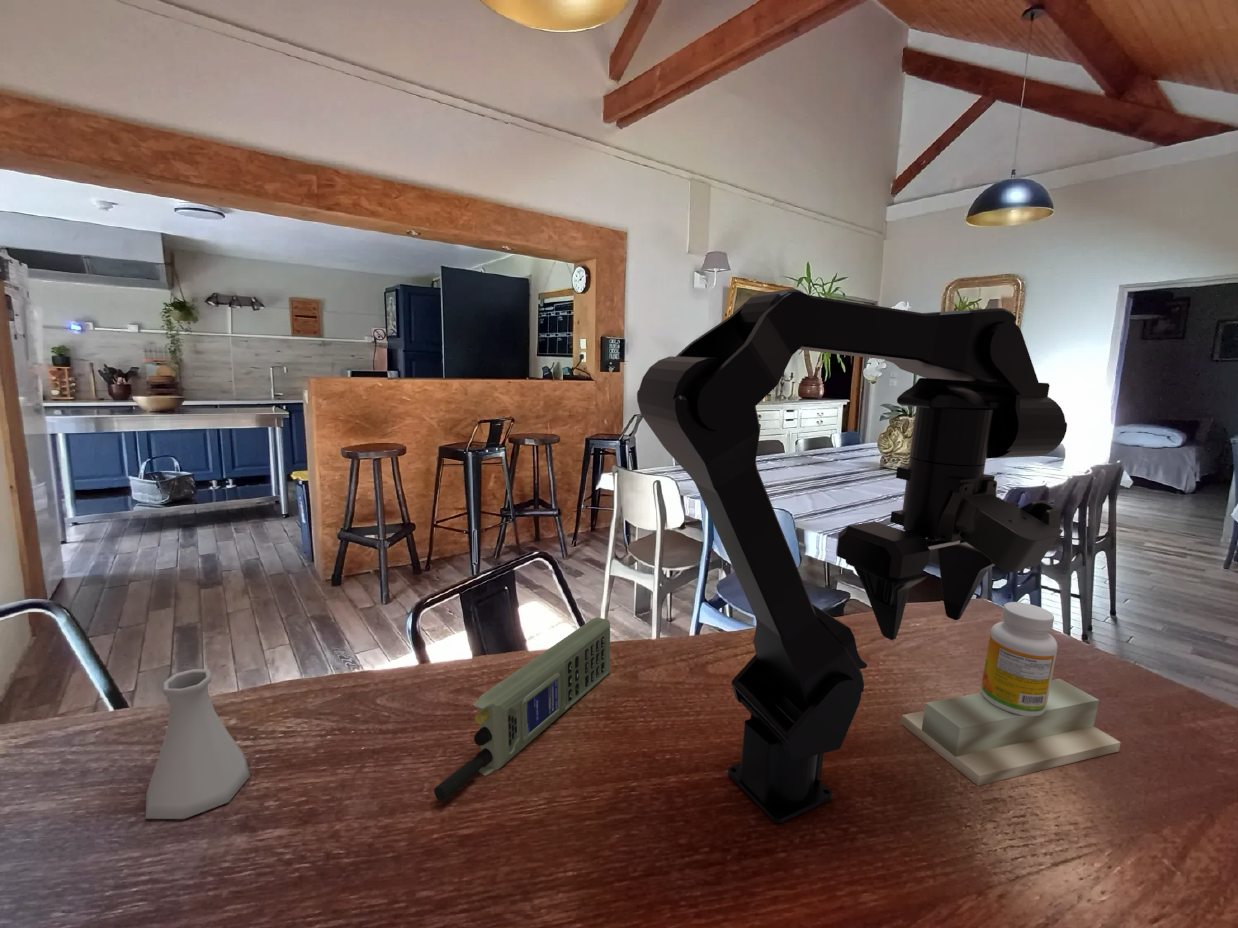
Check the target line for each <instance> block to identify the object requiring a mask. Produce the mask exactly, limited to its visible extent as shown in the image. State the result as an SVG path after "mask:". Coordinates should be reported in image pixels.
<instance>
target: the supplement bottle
mask: <svg viewBox="0 0 1238 928" xmlns="http://www.w3.org/2000/svg"><path fill="white" fill-rule="evenodd" d="M1002 609H1003V610H1002V614H1001V620H1002V621H1000V622H997V623H995V624H994V625H992V627H991V629H990V633H989V639H988V645H987V649H986V650H987V651H986V656H985V662H984V668H983V672H982V673H983V674H982V681H981V685H980V691H981V692H980V693H982V694H983V696H984V697H985V698H986V699H987V700H988V701H989V702H990V703H992V704H993V705H995V706H997V707H999V708H1001V709H1003V710H1005V711H1008V712H1011V713H1014V714H1019V715H1024V716H1038V715H1041V714H1043V713H1044V711H1045V710H1046V705H1047V701H1048V696H1049V690H1050V685H1051V680H1053V674H1054V669H1055V664H1056V659H1057V654H1058V647H1059V646H1058V642H1057V641H1056V640H1057V639H1056V638H1055V637H1054V636H1053V635H1052V634H1050V632H1052V630H1053V628H1054V621H1055V616H1054V613H1052V612H1051V611H1049V610H1047V609H1045V608H1043V607H1040V606H1038V605H1034V604H1031V603H1025V602H1019V601H1010V602H1007V603H1004V605H1003V608H1002Z"/></svg>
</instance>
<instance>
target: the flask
mask: <svg viewBox="0 0 1238 928" xmlns="http://www.w3.org/2000/svg"><path fill="white" fill-rule="evenodd" d="M211 682H212V674H211V669H209V668H207V669H206V668H192V669H189V670H184V671H180V672H177V673H173V675H171V676H170V677H168V678H167V679H166V680H164V681H163V682H162V691H163V693H162V694H163V696H165V697H168V702H169V703H168V705H169V711H168V712H169V713H168V722H167V728H166V731H165V735H164V738H163V741H162V745H161V748H160V752H159V755H158V757H157V761H156V764H155V767H154V770H153V773H152V775H151V779H150V782H149V784H148V788H147V791H146V795H145V819H152V820H153V819H154V820H155V819H158V820H159V819H160V820H161V819H162V820H167V819H168V820H174V819H175V820H185V819H188V818H190V817H193V816H196V815H198V814H200V813H201V814H202V813H204V812H206V811H210V810H212V809H215V808H217V807H219V806H222V805H224V804H227V803H229V802H230V801H231V800H232V799H233V797H235V795H236V794H237V792H238V791H239V790H240V789H241V788H242V786H243V785H244V784H245V783H246V782H247V780H248V779H249V778H251V775H250V769H249V765H248V761H247V760H248V759H247V757H246V755H245V754H244V752H243V750H242V749H241V748H240V746H239V745H238V744H237V743H236V741H235V739H234V738H233V737H232V736H231V734H230V733H229V730H228V729H227V728H226V726H225V725H224V723H223V722H222V720H221V719H220V717H219V715H218V713H217V712H216V710H215V708H214V705H213V702H212V700H211V697H210V694H209V685H210V683H211Z"/></svg>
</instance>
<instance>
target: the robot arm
mask: <svg viewBox="0 0 1238 928" xmlns="http://www.w3.org/2000/svg"><path fill="white" fill-rule="evenodd" d="M1016 321H1017V317H1016V315H1015V314H1014V313H1013V312H1012V311H1011V310H1008V309H1006V308H1003V307H995V308H994V307H992V308H991V307H990V308H979V309H978V308H977V309H976V308H975V309H963V310H962V309H961V310H949V311H947V310H946V311H932V312H917V311H912V310H904V309H899V308H893V307H886V306H880V305H873V304H866V303H861V302H855V301H848V300H841V299H838V298H837V299H835V298H828V297H822V296H816V295H812V294H807V293H806V292H804V291H801V290H800V289H796V288H794V289H793V288H790V289H781V290H774V291H767V292H761V293H756V294H755V295H752V296H751V297H749V298H748V299H747V300H746V301H745V302H744V303H742V304H741V306H739V307H738V308H737V309H736V310H735V311H734V312H733V313H732V314H730V315H729V317H727V318H726V319H724V320H722V321H721V322H720V323H718V324H717V325H715V326H714V327H712V328H711V329H709V330H708V331H706V332H705V333H703V334H702V335H700V336H698V337H697V338H696V339H694V340H693V341H691V342H690V343H689V344H688V345H686V346H685V348H683V349H682V350H681V351H680V352H679V353H678V354H677V355H675V356H672V355H671V356H667V357H664V358H661V359H659V360H657V361H656V362H655V363H653V364H652V365H651V366H650V367H648V369H647V370H646V373H645V374H644V375H643V376H642V378H641V381H640V386H639V389H638V390H637V392H636V401H637V406H638V409H639V412H640V415H641V416H642V419H644V421H645V422H646V423H647V425H648V427H649V428H650V430H651V431H652V433H653V434H654V435H655V437H656V438H657V439H658V441H659V442H660V444H661V445H662V447H663V448H664V449H665V450H666V451H667V452H668V453H669V455H671V457H672V458H673V459H674V460H675V461H676V463H678V465H679V466H680V467H681V468H682V469H683V470H684V471H685V472H686V474H687V475H689V477H690V478H691V479H692V481H693V483H694V484H695V486H696V488H697V490H698V492H699V493H698V494H699V495H700V497H701V500H702V502H703V504H704V506H705V509H706V511H707V512H708V516H709V517H710V519H711V520H710V521H711V523H712V524H713V526H714V528H715V531H716V533H717V535H718V537H719V539H720V542H721V544H722V546H723V548H724V551H725V553H726V555H727V557H728V560H729V562H730V564H731V566H732V568H733V571H734V572H735V575H736V577H737V580H738V581H739V584H740V587H741V589H742V591H743V593H744V595H745V598H746V600H747V602H748V603H749V606H750V608H751V611H752V612H753V615H754V618H755V621H756V626H755V631H754V634H753V647H754V650H755V654H754V655H753V657H752V658H751V659H750V660H749V661H748V662H747V663H746V664H745V665H744V667H743V668H742V669H741V670H740V671H739V672H738V673H737V674H736V676H734V677H733V679H732V680H731V687H732V690H733V694H734V697H735V700H736V701H738V702H739V703H741V704H742V706H743V707H744V708H746V710H747V711H748V712H749V713H750V718H748V719H746V720H744V724H743V725H744V727H743V738H742V748H741V761H740V762H738V763H736V764H732V765H731V766H729V767H728V768H727V776H729V777H730V779H732V781H733V782H734V783H735V784H736V785H737V786H739V788H740V789H741V790H742V791H743V792H744V793H745V794H746V795H747V796H748V797H749V798H750V799H751V800H752V801H753V802H754V803H755V804H756V805H757V806H758V807H759V808H760V810H762V811H763V813H765V814H766V815H767V817H769V818H770V820H772V821H773V822H774V823H776V824H783V823H785V822H787V821H789V820H791V819H793V818H796V817H797V816H799V815H801V814H803V813H805V812H808V811H809V810H812V809H814V808H816V807H819V806H821V805H822V804H825V803H827V802H829V801H831V800H832V799H833V791H832V790H831V789H830V788H829V787H827V785H825V784H824V783H823V782H822V781H821V780H820V779H819V778H820V777H821V776H822V769H823V761H824V760H823V759H824V754H825V753H830V752H833V751H838V750H839V749H841V747H842V745H843V744H844V742H845V741H844V740H845V738H846V736H847V733H848V731H849V729H850V726H851V724H852V722H853V719H854V717H855V716H856V712H857V710H858V707H859V706H860V702H861V700H862V693H864V690H865V689H864V688H865V680H864V675H863V672H862V670H863V669H867V667H868V664H867V663H866V662H865V661H863V660H862V658H861V656H860V655H859V651H858V648H857V643H856V638H855V636H854V634H853V631H852V629H851V628H850V627H849V626H847V625H846V624H845V623H842V622H841V621H840V620H838V619H837V618H835V617H833V616H832V615H830V614H829V613H827V612H825V611H824V610H822V609H821V608H819V607H818V606H816V605H815V604H813V603H812V601H811V599H810V598H811V597H810V596H809V594H808V591H807V588H806V586H805V583H804V582H803V579H802V576H801V573H800V571H799V569H798V567H797V563H796V561H795V559H794V556H793V554H792V550H791V548H790V546H789V544H788V542H787V539H786V536H785V535H784V532H783V531H784V530H783V529H782V527H781V524H780V521H779V518H778V517H777V514H776V512H775V509H774V506H773V504H772V501H771V499H770V497H769V495H768V492H767V489H766V487H765V484H764V482H763V479H762V477H761V474H760V472H759V469H758V466H757V455H758V447H759V441H760V433H761V426H760V420H759V416H758V411H757V405H758V404H760V403H761V401H763V400H764V399H765V398H766V396H768V395H769V394H770V393H771V392H772V391H774V389H775V388H776V387H777V385H779V383H780V381H781V379H782V377H783V375H784V372H785V371H786V369H787V367H788V365H789V363H790V360H791V359H792V358H793V356H794V355H795V354H796V353H797V352H798V350H799V351H808V352H817V353H826V354H834V355H842V356H850V357H861V358H868V359H877V360H878V359H879V360H884V361H887V362H889V363H892V364H894V365H895V366H897V368H899V369H900V370H903V371H904V372H907V373H911V374H913V375H915V376H916V375H917V376H918V377H919V378H918V379H917V381H916V382H915V383H914V384H913V385H912V386H910V387H909V388H908V389H906V390H904V391H903V392H902V393H901V394H900V395H899V396H898V397H897V398H896V403H897V404H898V405H900V406H907V407H908V406H909V407H915V413H914V419H913V421H914V422H913V429H912V435H911V443H910V450H909V457H908V458H909V459H908V465H903V466H897V467H896V475H895V478H896V479H900V480H903V481H904V480H905V481H906V482H905V488H904V495H903V496H904V497H903V503H902V509H899V510H892V511H891V512H890V513H891V514H890V521H889V522H890V523H892V524H895V525H899V526H902V529H900V528H896V527H893V526H889V525H888V524H884V523H880V522H877V521H869V522H864V523H857V524H852V525H851V524H850V525H847V526H845V527H844V528H843V529H841V530H840V531H839V532H838V534H837V541H836V550H835V551H836V552H835V555H836V557H837V558H840V559H843V560H845V563H846V564H847V566H848V565H849V566H851V567H853V568H854V571H855V572H856V575H857V577H858V579H859V580H860V583H861V585H862V587H863V589H864V591H865V593H866V596H867V598H868V601H869V604H870V606H871V609H872V612H873V615H874V617H875V620H876V622H877V625H878V627H879V630H880V633H881V635H882V636H883V637H885V638H887V639H888V640H890V641H893V640H896V639H897V636H898V633H899V630H900V628H901V624H902V619H903V616H904V613H905V609H906V604H907V600H908V596H909V593H910V589H911V588H912V587H913V586H916V585H918V584H919V583H920V582H922V581H924V580H926V579H927V577H928V575H926V574H923V573H922V572H923V571H924V570H925V569H926V567H927V566H928V564H929V560H930V554H931V553H930V552H931V550H935V549H937V557H938V564H939V566H938V567H939V573H940V582H941V591H942V600H943V605H944V612H945V615H946V617H947V618H949V619H951V620H953V621H958V620H960V619H961V618H962V616H963V614H964V613H965V610H966V609H967V607H968V605H969V603H970V602H971V600H972V598H973V596H974V594H975V593H976V591H977V589H978V588H979V585H980V584H981V582H982V581H983V579H984V577H985V576H986V574H987V572H989V570H990V569H991V568H992V567H994V566H995V567H997V568H999V569H1001V570H1003V571H1005V572H1008V573H1011V574H1014V573H1018V572H1021V570H1025V569H1028V568H1033V569H1034V568H1037V567H1039V565H1040V563H1041V562H1042V560H1043V559H1044V557H1045V556H1046V554H1047V553H1048V552H1049V550H1050V549H1052V548H1056V547H1059V546H1061V545H1062V542H1063V541H1062V538H1061V534H1062V533H1063V532H1064V530H1063V529H1062V528H1061V515H1062V514H1061V513H1062V510H1061V508H1060V507H1057V506H1056V505H1054V504H1053V503H1050V502H1049V501H1047V500H1044V499H1043V500H1042V499H1041V500H1036V501H1031V502H1030V503H1027V504H1025V505H1024V506H1022V507H1020V504H1019V503H1018V502H1016V501H1013V502H1008V501H1005V500H1003V499H1002V498H1000V497H999V496H997V488H998V487H997V486H998V481H997V480H995V475H991V474H986V473H985V467H986V461H987V459H1005V458H1029V457H1030V458H1031V457H1034V458H1036V457H1042V456H1045V455H1048V454H1049V453H1051V452H1053V451H1055V450H1056V449H1057V448H1058V447H1059V446H1060V445H1061V443H1062V442H1063V441H1064V439H1065V436H1066V433H1067V429H1068V422H1067V421H1066V417H1065V414H1064V412H1063V410H1062V407H1061V406H1060V405H1059V404H1058V403H1057V401H1055V400H1054V399H1052V398H1051V397H1049V391H1050V384H1049V382H1039V379H1038V376H1037V374H1036V371H1035V368H1034V364H1033V362H1032V358H1031V356H1030V352H1029V349H1028V347H1027V343H1026V340H1025V338H1024V334H1023V332H1022V330H1021V328H1020V326H1019V325H1017V324H1016V323H1015V322H1016Z"/></svg>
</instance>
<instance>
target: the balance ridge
mask: <svg viewBox="0 0 1238 928" xmlns="http://www.w3.org/2000/svg"><path fill="white" fill-rule="evenodd" d="M1099 702H1100V699H1098V698H1096V697H1094V696H1093V695H1091V694H1089V693H1087V692H1085V691H1084V690H1082V689H1080V688H1077V687H1076V686H1074V685H1072V684H1070V683H1068V682H1067V681H1065V680H1063V679H1061V678H1055V679H1052V680H1051V685H1050V690H1049V696H1048V701H1047V705H1046V710H1045V711H1044V713H1043V714H1041V715H1038V716H1024V715H1019V714H1014V713H1011V712H1008V711H1005V710H1003V709H1001V708H999V707H997V706H995V705H993V704H992V703H990V702H989V701H988V700H987V699H986V698H985V697H984V696H983V694H982V692H977V693H973V694H966V695H960V696H956V697H950V698H944V699H943V698H942V699H938V700H933V701H927V702H925V704H924V705H925V706H924V710H921V711H916V712H911V713H906V714H901V715H902V716H901V721H900V722H901V725H902V726H903V727H905V728H906V729H907V730H908V731H910V732H911V733H912V734H913V735H915V736H916V738H918V739H920V740H921V741H922V742H923V743H924V744H926V745H927V746H928V747H930V748H931V749H932V750H933V751H934V752H936V754H938V755H939V756H940V757H941V758H943V759H944V760H945V761H947V762H948V763H949V764H950V765H951V766H952V767H954V768H955V769H956V770H957V771H959V772H960V773H961V774H962V775H964V776H965V777H966V778H968V779H969V780H970V781H971V782H973V784H975V785H976V786H977V787H978V786H982V785H987V784H989V783H994V782H999V781H1002V780H1006V779H1007V780H1008V779H1011V778H1015V777H1019V776H1024V775H1027V774H1031V773H1035V772H1039V771H1044V770H1048V769H1052V768H1057V767H1060V766H1064V765H1068V764H1073V763H1077V762H1081V761H1085V760H1089V759H1094V758H1098V757H1101V756H1106V755H1109V754H1113V753H1119V752H1120V747H1121V741H1120V740H1118V739H1116V738H1115V737H1113V736H1110V734H1108V733H1106V732H1103V731H1102V730H1100V729H1099V728H1098V727H1095V726H1094V725H1095V721H1096V717H1097V711H1098V707H1099Z"/></svg>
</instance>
